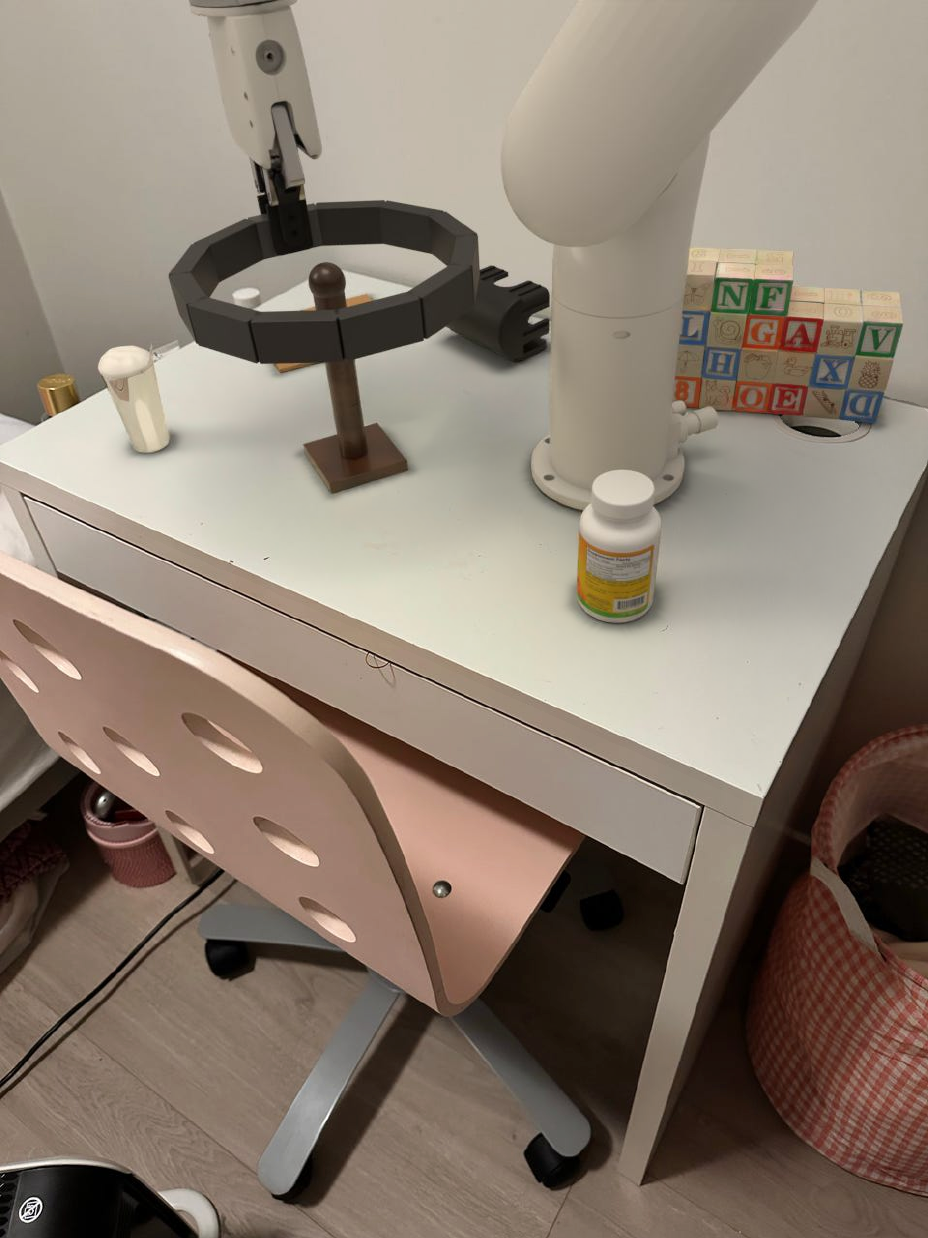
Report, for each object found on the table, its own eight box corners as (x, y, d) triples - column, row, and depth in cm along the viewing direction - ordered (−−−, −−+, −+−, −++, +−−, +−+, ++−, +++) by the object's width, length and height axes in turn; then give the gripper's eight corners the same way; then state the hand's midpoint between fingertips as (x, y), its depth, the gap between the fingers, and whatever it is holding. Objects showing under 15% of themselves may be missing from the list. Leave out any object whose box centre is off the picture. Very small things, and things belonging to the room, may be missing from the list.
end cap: (436, 341, 96) (430, 277, 92) (487, 318, 100) (484, 256, 95) (500, 374, 91) (498, 307, 86) (552, 349, 94) (553, 283, 89)
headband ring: (409, 218, 81) (405, 182, 79) (530, 311, 66) (529, 270, 64) (156, 276, 75) (145, 239, 73) (226, 394, 60) (215, 351, 58)
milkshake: (172, 459, 83) (139, 356, 76) (117, 455, 84) (80, 353, 77) (193, 432, 86) (163, 330, 79) (140, 428, 87) (106, 328, 80)
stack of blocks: (874, 390, 85) (911, 255, 76) (876, 425, 80) (915, 287, 72) (639, 369, 90) (649, 241, 81) (629, 402, 86) (638, 270, 77)
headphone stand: (378, 432, 84) (352, 238, 72) (408, 469, 79) (385, 269, 68) (304, 453, 82) (265, 258, 70) (331, 493, 77) (293, 291, 66)
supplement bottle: (597, 566, 69) (604, 454, 62) (665, 589, 66) (679, 476, 60) (563, 609, 66) (565, 496, 59) (633, 635, 63) (644, 520, 57)
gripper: (327, -12, 60) (366, 267, 73) (260, -39, 71) (304, 209, 84) (215, 5, 58) (274, 290, 71) (163, -25, 69) (223, 227, 81)
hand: (290, 244), depth 77 cm, fingers closed on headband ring
